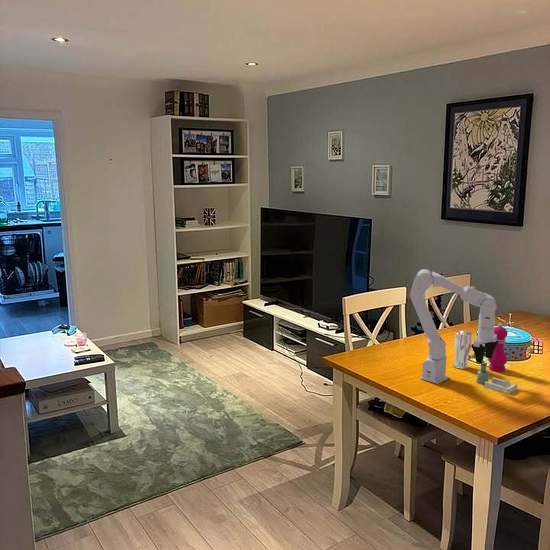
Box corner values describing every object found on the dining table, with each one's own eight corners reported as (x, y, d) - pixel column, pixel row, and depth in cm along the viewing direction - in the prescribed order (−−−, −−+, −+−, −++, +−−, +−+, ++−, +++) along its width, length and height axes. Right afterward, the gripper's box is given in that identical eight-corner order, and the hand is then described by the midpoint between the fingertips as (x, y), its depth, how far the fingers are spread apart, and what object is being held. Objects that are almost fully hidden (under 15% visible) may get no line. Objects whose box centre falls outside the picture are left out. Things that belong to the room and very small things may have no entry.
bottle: (484, 385, 211) (486, 365, 209) (474, 382, 214) (476, 363, 212) (490, 382, 214) (491, 363, 212) (480, 379, 217) (481, 360, 215)
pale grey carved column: (450, 367, 230) (453, 333, 226) (453, 362, 236) (456, 329, 233) (467, 370, 227) (471, 336, 223) (470, 365, 233) (474, 331, 229)
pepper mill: (505, 367, 230) (508, 321, 227) (507, 373, 223) (511, 326, 220) (486, 365, 232) (489, 320, 228) (488, 371, 225) (491, 325, 222)
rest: (508, 394, 203) (509, 389, 202) (484, 386, 210) (484, 382, 209) (517, 389, 207) (517, 384, 207) (493, 382, 214) (493, 377, 214)
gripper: (487, 332, 202) (484, 367, 204) (505, 325, 211) (502, 358, 214) (469, 328, 207) (467, 363, 210) (487, 321, 217) (485, 354, 219)
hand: (484, 360), depth 212 cm, fingers open, 7 cm apart
